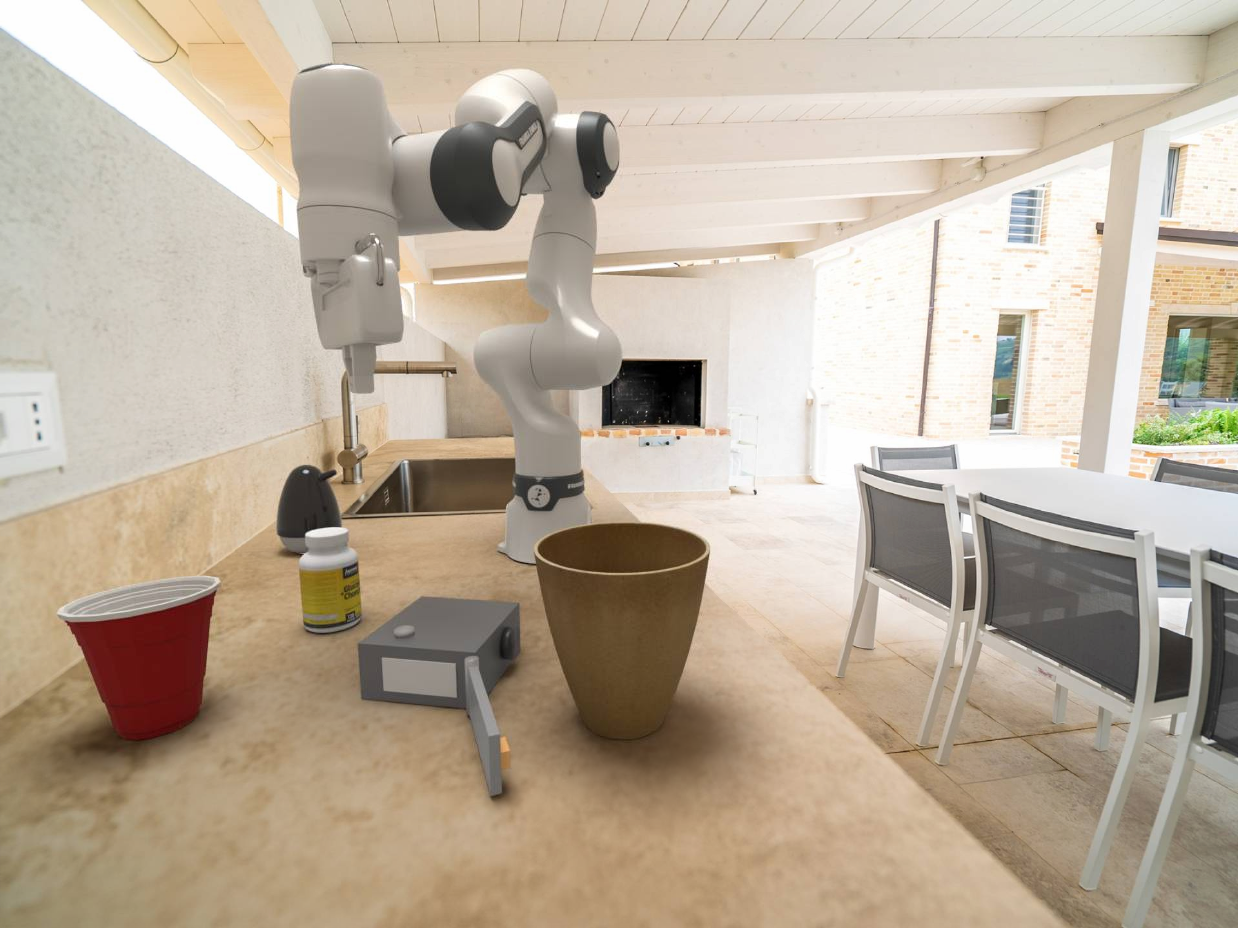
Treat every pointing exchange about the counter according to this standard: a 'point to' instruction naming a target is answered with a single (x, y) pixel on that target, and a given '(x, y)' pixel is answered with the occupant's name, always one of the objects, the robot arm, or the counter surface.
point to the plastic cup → (147, 650)
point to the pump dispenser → (306, 506)
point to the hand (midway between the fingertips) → (361, 393)
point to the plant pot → (622, 617)
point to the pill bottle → (329, 581)
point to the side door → (485, 727)
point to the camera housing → (438, 650)
